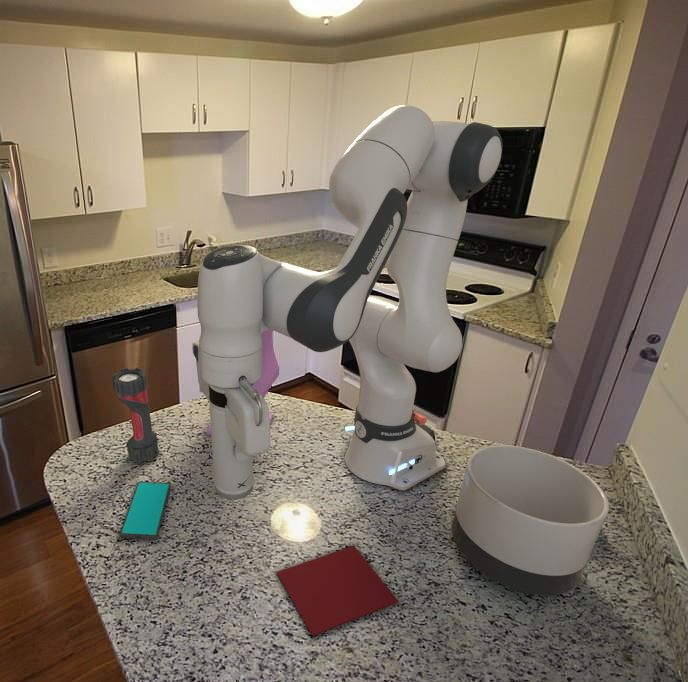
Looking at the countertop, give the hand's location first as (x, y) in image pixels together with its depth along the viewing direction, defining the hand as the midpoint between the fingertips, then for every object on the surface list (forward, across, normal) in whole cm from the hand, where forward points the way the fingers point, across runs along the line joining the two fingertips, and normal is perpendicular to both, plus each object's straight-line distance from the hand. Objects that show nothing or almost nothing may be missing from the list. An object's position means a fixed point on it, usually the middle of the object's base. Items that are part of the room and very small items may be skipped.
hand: (231, 443), depth 72 cm
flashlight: (+28, +37, +9) cm, 47 cm away
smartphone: (+28, +19, +11) cm, 35 cm away
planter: (+27, -15, -47) cm, 57 cm away
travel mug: (+9, 0, 0) cm, 9 cm away
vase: (+28, +41, -19) cm, 53 cm away
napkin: (+27, -9, -15) cm, 33 cm away
